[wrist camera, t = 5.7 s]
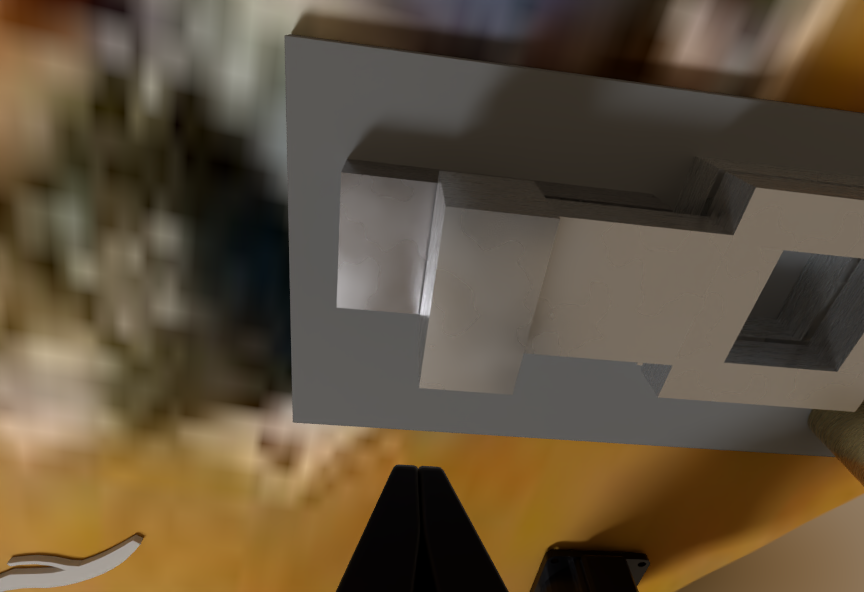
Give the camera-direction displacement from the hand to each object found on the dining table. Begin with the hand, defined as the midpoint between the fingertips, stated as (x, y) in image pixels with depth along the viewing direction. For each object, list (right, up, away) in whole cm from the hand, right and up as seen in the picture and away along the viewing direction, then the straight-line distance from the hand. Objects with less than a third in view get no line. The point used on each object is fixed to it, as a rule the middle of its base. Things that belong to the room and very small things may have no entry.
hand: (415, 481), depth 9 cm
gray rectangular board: (+10, +3, +12) cm, 16 cm away
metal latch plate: (+9, +4, +9) cm, 13 cm away
